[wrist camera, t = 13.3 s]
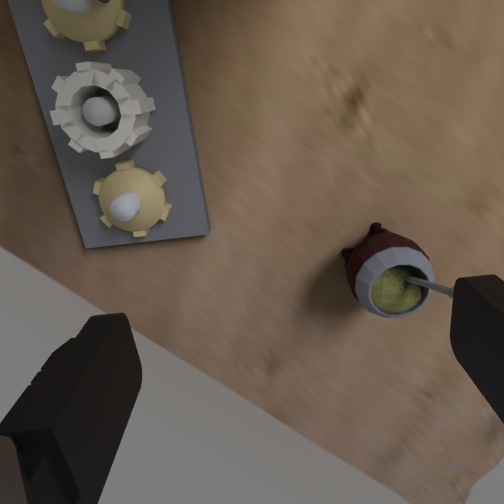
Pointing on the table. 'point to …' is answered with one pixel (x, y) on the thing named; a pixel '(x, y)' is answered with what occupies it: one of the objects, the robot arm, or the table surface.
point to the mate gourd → (390, 274)
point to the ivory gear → (86, 86)
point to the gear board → (164, 120)
